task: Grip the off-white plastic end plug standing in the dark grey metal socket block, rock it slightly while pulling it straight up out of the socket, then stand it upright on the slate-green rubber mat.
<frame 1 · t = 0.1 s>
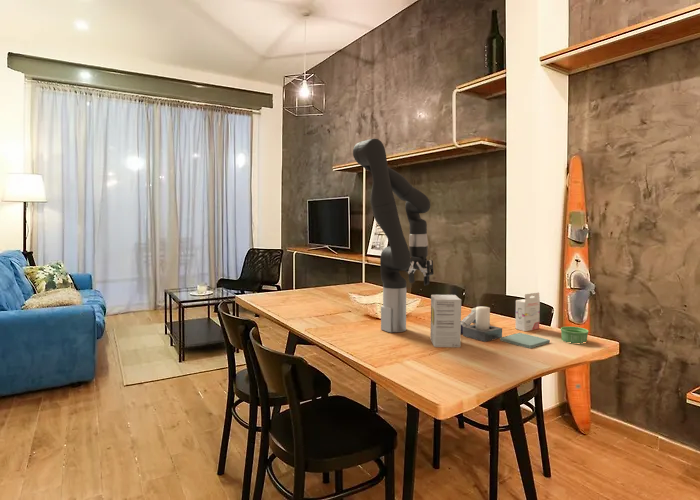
hand: (419, 283, 180), 17 cm above the table, tool pointing down, fingers open, 8 cm apart
ramekin: (574, 341, 157), on the table
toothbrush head: (469, 327, 179), on the table
mat: (524, 341, 157), on the table
end plug: (482, 322, 163), in the socket block
ink cartridge box: (527, 329, 175), on the table
supplement box: (445, 344, 155), on the table
socket block: (482, 336, 164), on the table
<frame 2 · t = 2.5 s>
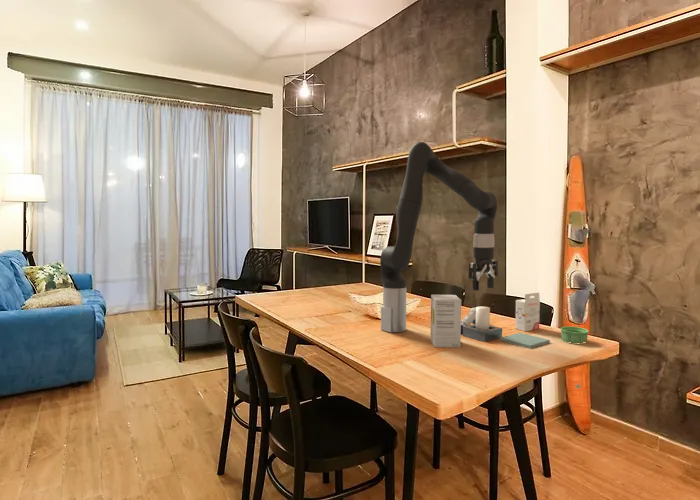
hand: (483, 289, 163), 18 cm above the table, tool pointing down, fingers open, 8 cm apart
nothing on the table moved.
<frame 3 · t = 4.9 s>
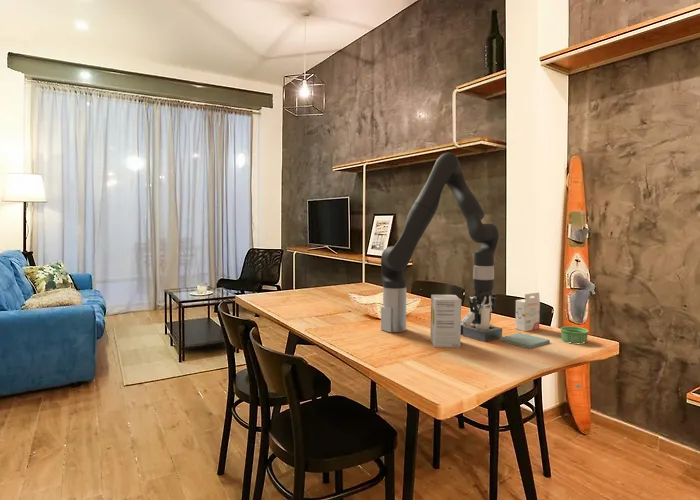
hand: (482, 322, 163), 5 cm above the table, tool pointing down, fingers closed on end plug, 5 cm apart
end plug: (482, 322, 163), in the socket block, touching gripper
everything else where it was.
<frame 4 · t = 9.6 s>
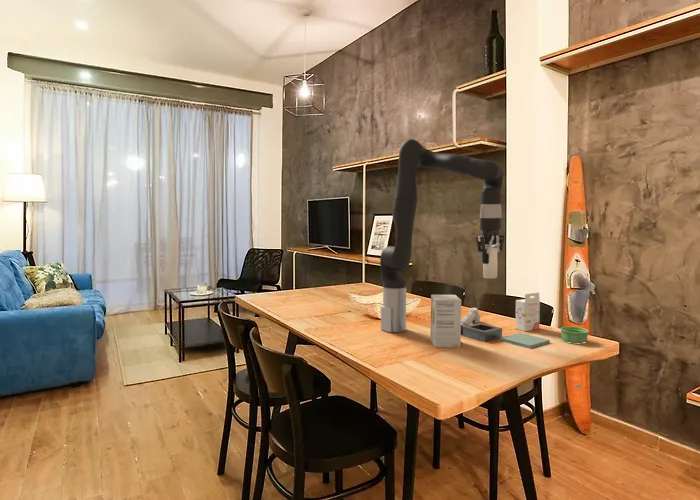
hand: (490, 262, 161), 28 cm above the table, tool pointing down, fingers closed on end plug, 5 cm apart
end plug: (490, 262, 161), point 28 cm above the table, touching gripper
everything else where it was.
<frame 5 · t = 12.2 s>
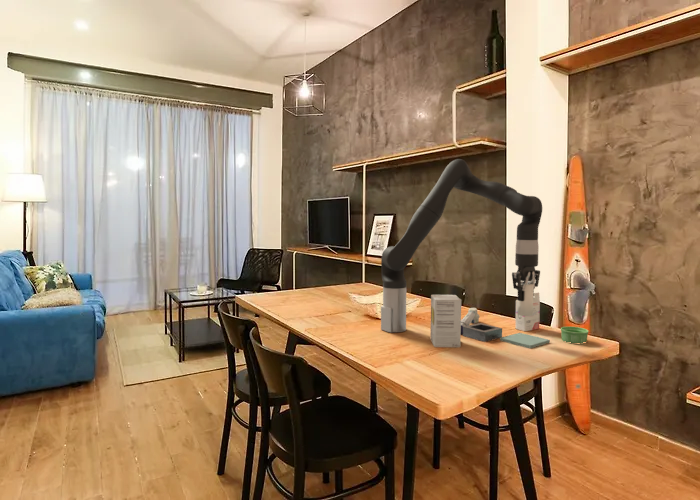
hand: (525, 299, 156), 15 cm above the table, tool pointing down, fingers closed on end plug, 5 cm apart
end plug: (525, 299, 156), point 15 cm above the table, touching gripper
everything else where it was.
when the fingers open (7 cm above the table, at t = 14.4 s): end plug stays where it is, resting on mat.
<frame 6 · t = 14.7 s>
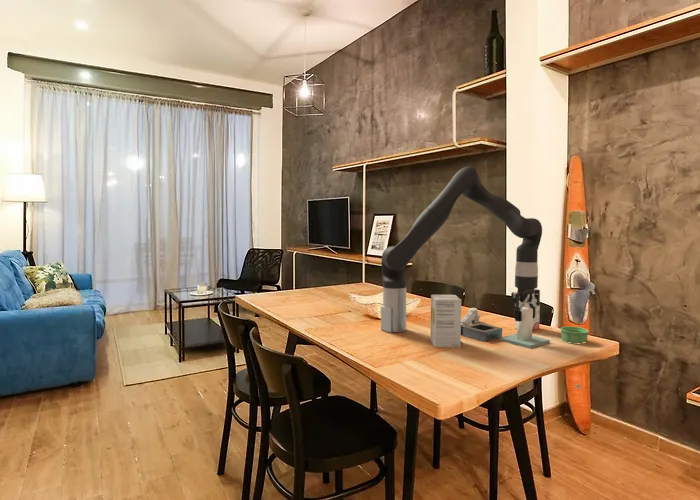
hand: (525, 319, 156), 8 cm above the table, tool pointing down, fingers open, 8 cm apart
end plug: (524, 323, 156), on the mat, point 6 cm above the table
everything else where it was.
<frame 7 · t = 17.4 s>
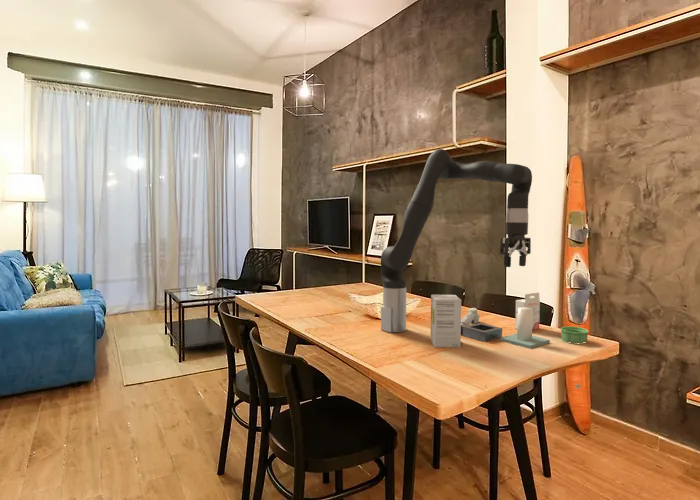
hand: (514, 266, 157), 27 cm above the table, tool pointing down, fingers open, 8 cm apart
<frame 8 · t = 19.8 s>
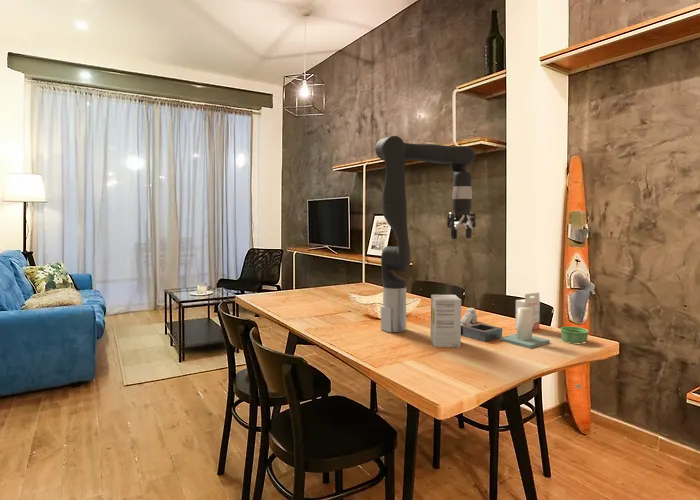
hand: (461, 238, 176), 36 cm above the table, tool pointing down, fingers open, 8 cm apart
at the end: end plug inside the target area on the mat (0.1 cm from its centre), point 6.5 cm above the mat's base; end plug tilted 1°; the gripper is holding nothing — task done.
